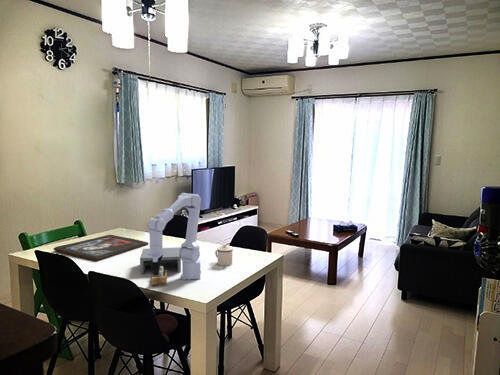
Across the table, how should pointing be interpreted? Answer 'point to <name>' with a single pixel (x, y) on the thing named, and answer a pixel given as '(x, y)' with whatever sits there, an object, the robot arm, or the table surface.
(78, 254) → the religious icon
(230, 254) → the teacup with lid
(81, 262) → the table surface
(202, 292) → the table surface
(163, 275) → the teak tray
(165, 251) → the grey low stand
